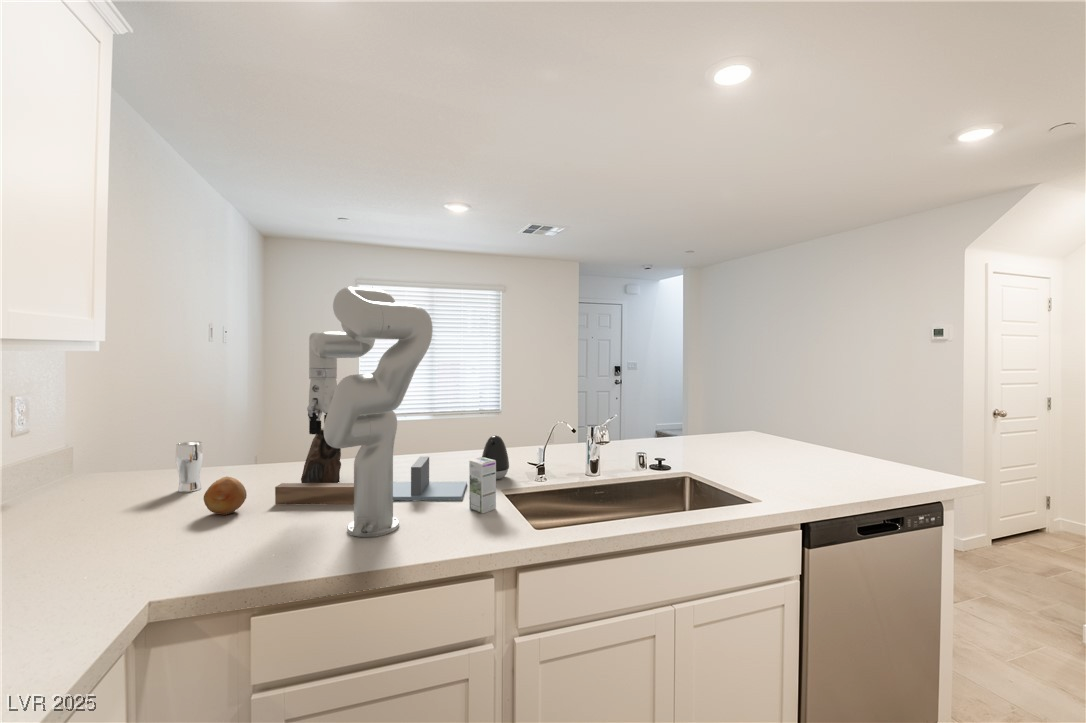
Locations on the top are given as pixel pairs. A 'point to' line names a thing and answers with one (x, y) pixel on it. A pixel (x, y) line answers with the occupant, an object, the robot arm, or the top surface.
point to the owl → (322, 462)
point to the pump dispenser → (497, 455)
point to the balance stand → (426, 486)
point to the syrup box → (482, 484)
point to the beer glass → (189, 465)
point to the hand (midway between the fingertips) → (322, 430)
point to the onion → (225, 496)
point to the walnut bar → (314, 493)
